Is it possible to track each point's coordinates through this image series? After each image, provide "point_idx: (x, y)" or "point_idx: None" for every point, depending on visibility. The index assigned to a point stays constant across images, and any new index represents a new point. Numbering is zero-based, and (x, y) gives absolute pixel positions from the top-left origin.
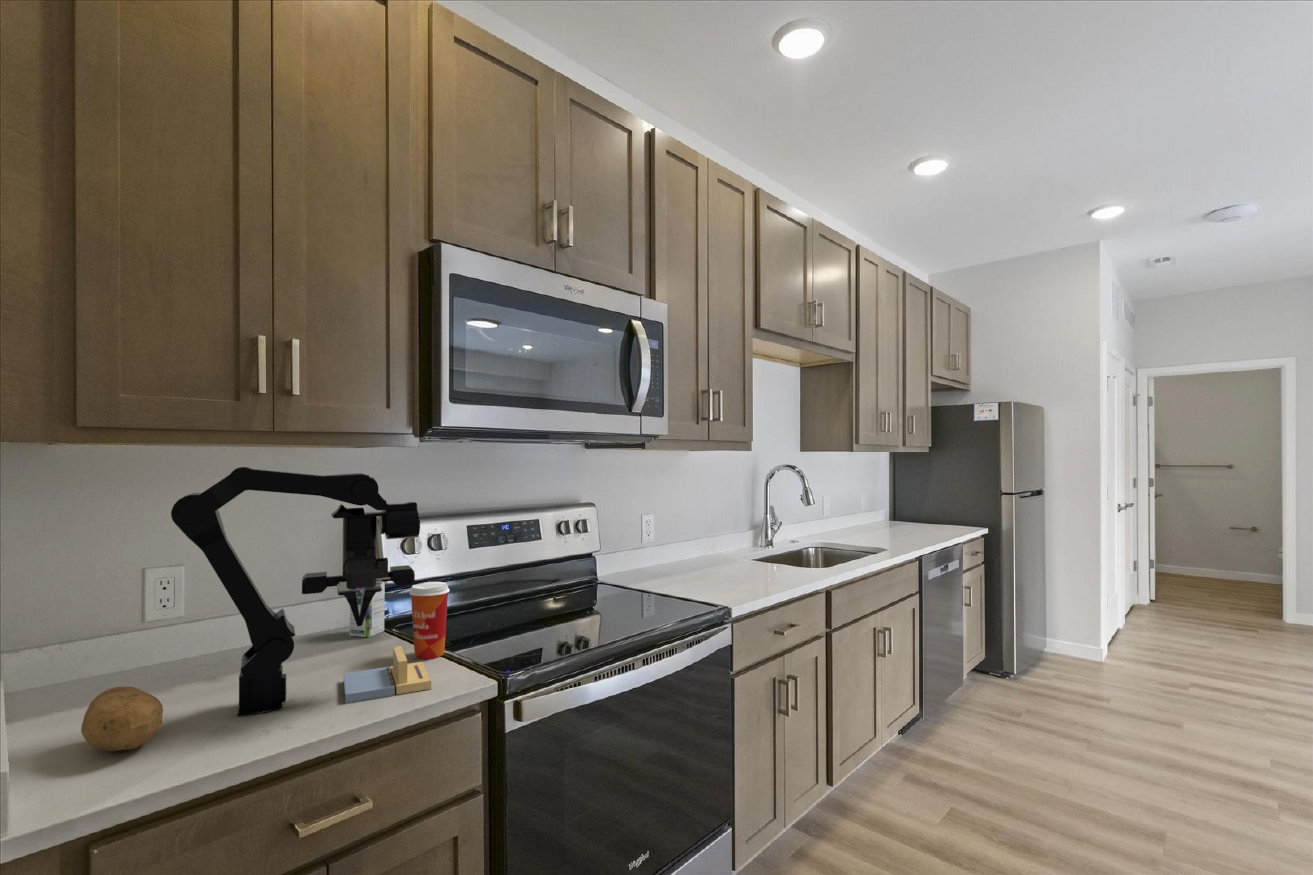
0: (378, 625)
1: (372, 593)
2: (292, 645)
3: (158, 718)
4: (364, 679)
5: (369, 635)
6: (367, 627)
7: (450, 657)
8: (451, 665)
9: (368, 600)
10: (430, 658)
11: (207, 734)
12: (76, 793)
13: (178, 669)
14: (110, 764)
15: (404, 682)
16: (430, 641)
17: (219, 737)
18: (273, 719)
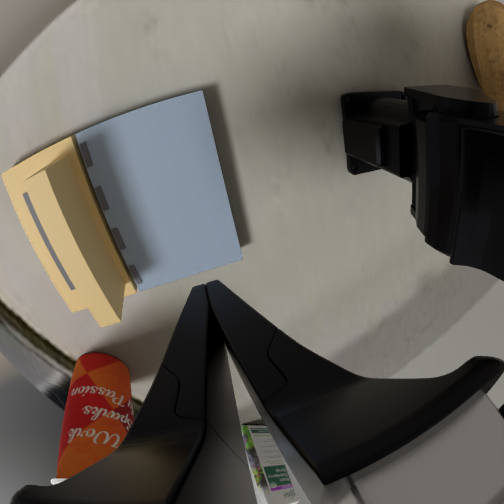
0: None
1: (92, 478)
2: (437, 114)
3: (483, 21)
4: (175, 205)
5: (241, 427)
6: (248, 437)
7: (55, 353)
8: (30, 313)
9: (153, 420)
10: (89, 353)
11: (418, 36)
12: None
13: (443, 314)
14: (468, 11)
15: (55, 160)
16: (83, 381)
17: (400, 12)
18: (342, 47)
